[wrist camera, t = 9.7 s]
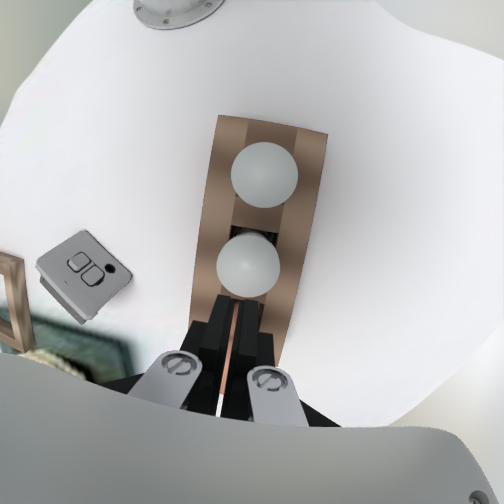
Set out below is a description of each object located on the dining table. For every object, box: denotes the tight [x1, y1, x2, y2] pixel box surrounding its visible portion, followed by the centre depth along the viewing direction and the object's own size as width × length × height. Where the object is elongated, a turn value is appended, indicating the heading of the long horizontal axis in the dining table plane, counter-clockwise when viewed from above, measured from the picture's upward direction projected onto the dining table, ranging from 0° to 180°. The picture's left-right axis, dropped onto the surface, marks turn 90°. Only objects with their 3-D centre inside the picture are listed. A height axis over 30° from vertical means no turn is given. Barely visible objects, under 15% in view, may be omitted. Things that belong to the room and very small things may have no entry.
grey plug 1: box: [231, 142, 298, 208], centre depth 25 cm, size 5×5×10 cm
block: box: [188, 115, 328, 367], centre depth 29 cm, size 24×10×6 cm, turn 170°
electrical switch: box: [35, 231, 131, 325], centre depth 30 cm, size 9×5×9 cm, turn 49°
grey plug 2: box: [217, 227, 280, 297], centre depth 27 cm, size 5×5×10 cm
